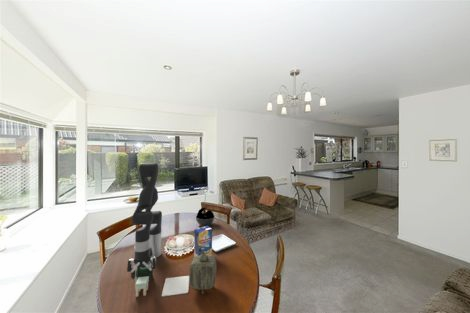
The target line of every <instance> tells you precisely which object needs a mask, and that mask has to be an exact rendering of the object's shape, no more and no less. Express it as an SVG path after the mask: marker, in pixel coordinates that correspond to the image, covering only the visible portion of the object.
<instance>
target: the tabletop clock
mask: <svg viewBox="0 0 470 313" xmlns="http://www.w3.org/2000/svg"><path fill="white" fill-rule="evenodd" d="M200 248H207V249H208V250H209V251H210V249H209V248H208V247H199V248H198V250H199V249H200ZM198 250H197V252H198ZM198 253H200V252H198ZM207 253H209V252H206V253H204V251H203V253H200V254H201V255H199V256H195V257H194V256H193V258H192V261H191V264H190V267H189V272H188V276H189V286H190V287H191V288H192V289H193V290H201V291H200V294H201V295H204V294H205V291H204V290H209V289H212V288H214V287H215V283H216V277H217V268H218V267H217V259H216V256H214V255H212V256H210V255H206V254H207Z"/></svg>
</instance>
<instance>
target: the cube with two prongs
mask: <svg viewBox="0 0 470 313" xmlns="http://www.w3.org/2000/svg"><path fill="white" fill-rule="evenodd" d="M149 282H150V281H149V276H146V277H138V279H137V282H135V284H134V290H135V298H137V297H139V295H140V292H141V290H142V296H144V297H145V296H147V291H148V290H149Z"/></svg>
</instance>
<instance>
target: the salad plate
mask: <svg viewBox="0 0 470 313" xmlns="http://www.w3.org/2000/svg"><path fill="white" fill-rule="evenodd" d="M234 245H236V241H234V240H233V239H231V238H229V237H228V236H226V235H225V234H223V233H221V234H218V235H215V236H212V251H214V252H216V253H217V252H220V251H222V250H225V249H227V248H230V247H233V246H234Z"/></svg>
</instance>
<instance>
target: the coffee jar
mask: <svg viewBox="0 0 470 313" xmlns="http://www.w3.org/2000/svg"><path fill="white" fill-rule="evenodd" d="M152 256H153V252H152V248H151V247H150V257H152ZM149 262H150V263H151V265H152V266H153V262H152V261H151V260H150V261H149ZM149 271H150V270H149V269H148V268H147V267H146V266H145V267H137V268H136V269H135V278H134V280H135V283H136V282H137V279H138V277H146V276H149ZM153 278H154V273H153V274H152V276H151V277H149V282H150V281H152V279H153Z"/></svg>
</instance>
